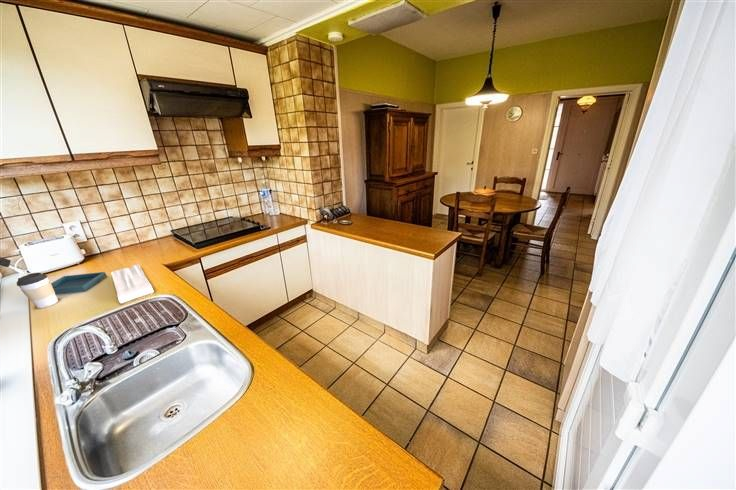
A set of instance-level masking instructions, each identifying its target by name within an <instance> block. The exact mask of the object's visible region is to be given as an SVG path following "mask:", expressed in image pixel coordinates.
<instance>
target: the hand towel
mask: <svg viewBox="0 0 736 490" xmlns="http://www.w3.org/2000/svg"><path fill="white" fill-rule="evenodd" d="M110 274H111V278H112V280H113V284H114V288H115V291H116V296H117V299H118V301H119V303H120V304H121V305H122V304H125V303H129V302H131V301H133V300H136V299H140V298H142V297H145V296H147V295H151V294H153V293H155V290H154V288H153V286H152V284H151V282H150V281H149V280H148V278H147V276H146V274H145V273H144V271H143V269H142V267H140V264H139V263H137V264H133V265H131V266H130V267H124V268H120V269H117V270H114V271H110Z"/></svg>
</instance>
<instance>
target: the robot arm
mask: <svg viewBox="0 0 736 490" xmlns="http://www.w3.org/2000/svg"><path fill="white" fill-rule="evenodd" d="M11 262H12V260H11V259H8V258H5V257H2V256H0V266H1V267H5V268H9V267H10V265H11Z"/></svg>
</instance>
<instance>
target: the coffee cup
mask: <svg viewBox="0 0 736 490" xmlns="http://www.w3.org/2000/svg"><path fill="white" fill-rule="evenodd" d="M51 283H52V282H51V280H50V279H49V278H48V275H47V274H45V273H41V272H33V273H30V274H26V275H24V276H21V277H18V278H17V281H16V286H17V287H19V289H20V291H21V292H22V293H23V294H24V295H25V296H26V298H27V299H28V300H29V301H30V302H31V303H32V304H33V305H34V306H35V308H37V309H45V308H47V307H49V306H53V305H54V304H56V303H58V301H59V300H58V299H59V298H58V297H57V295H55V292H54V289H53V287H52V285H51Z"/></svg>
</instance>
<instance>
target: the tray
mask: <svg viewBox="0 0 736 490" xmlns="http://www.w3.org/2000/svg"><path fill="white" fill-rule="evenodd" d="M107 277H108V275H107V273H106V271H101V272H99V271H98V272H90V273H81V274H72V275H63V276H62V277H60V278H58V279H56V280H54V281H52V282H50V283H51V285H52V287H53V289H54V292H55V295H56V296H57V295H66V294H77V293H84V292H87V291H88V290H90V289H92V288H93V287H94V286H96V285H98V284H99V283H100V282H102V281H103V280H105V279H106V278H107Z"/></svg>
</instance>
